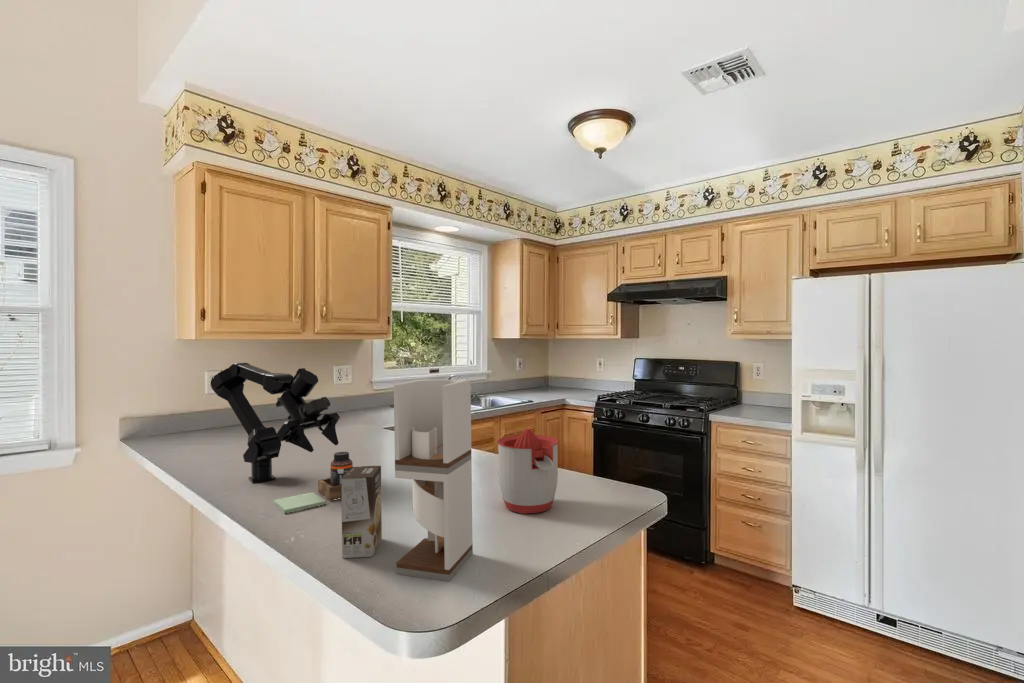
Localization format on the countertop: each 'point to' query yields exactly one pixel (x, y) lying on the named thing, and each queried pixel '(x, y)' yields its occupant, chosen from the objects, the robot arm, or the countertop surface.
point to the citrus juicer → (528, 471)
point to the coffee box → (361, 511)
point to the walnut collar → (329, 489)
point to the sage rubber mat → (298, 502)
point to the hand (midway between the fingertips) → (325, 447)
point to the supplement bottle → (340, 467)
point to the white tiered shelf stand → (436, 472)
